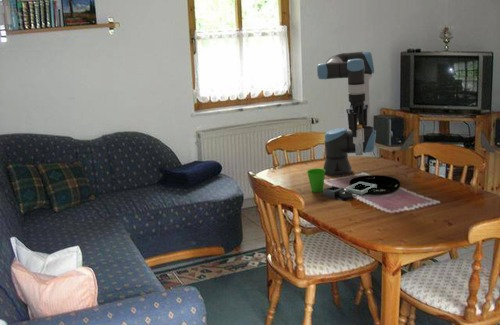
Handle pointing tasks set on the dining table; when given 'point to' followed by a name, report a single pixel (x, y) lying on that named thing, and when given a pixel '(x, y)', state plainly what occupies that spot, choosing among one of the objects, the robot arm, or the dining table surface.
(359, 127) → the pin
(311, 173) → the cup
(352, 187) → the tray
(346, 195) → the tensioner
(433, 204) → the dining table surface
